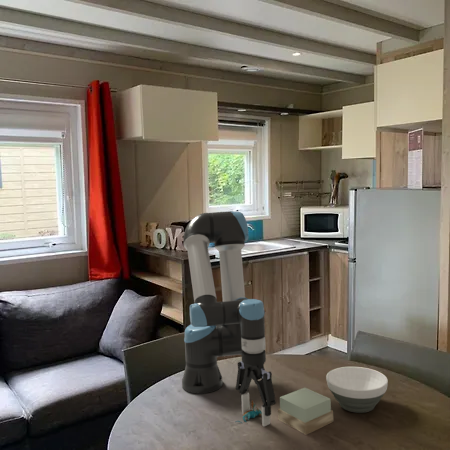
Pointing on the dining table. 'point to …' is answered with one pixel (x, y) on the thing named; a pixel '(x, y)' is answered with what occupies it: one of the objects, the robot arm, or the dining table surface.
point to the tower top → (305, 404)
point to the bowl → (357, 387)
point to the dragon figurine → (251, 412)
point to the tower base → (307, 426)
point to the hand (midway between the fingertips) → (255, 418)
